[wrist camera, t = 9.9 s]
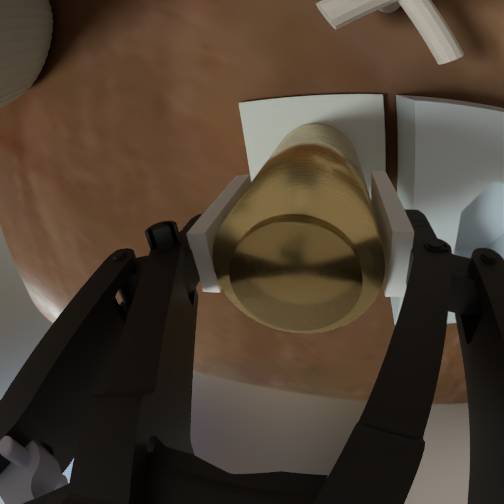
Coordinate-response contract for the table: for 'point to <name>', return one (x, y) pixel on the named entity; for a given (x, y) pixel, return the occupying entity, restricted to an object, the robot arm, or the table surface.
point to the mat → (322, 112)
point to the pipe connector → (418, 10)
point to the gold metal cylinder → (303, 237)
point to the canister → (22, 45)
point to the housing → (452, 172)
